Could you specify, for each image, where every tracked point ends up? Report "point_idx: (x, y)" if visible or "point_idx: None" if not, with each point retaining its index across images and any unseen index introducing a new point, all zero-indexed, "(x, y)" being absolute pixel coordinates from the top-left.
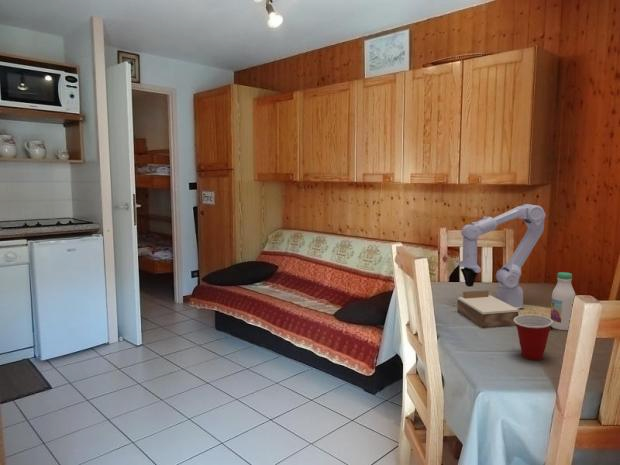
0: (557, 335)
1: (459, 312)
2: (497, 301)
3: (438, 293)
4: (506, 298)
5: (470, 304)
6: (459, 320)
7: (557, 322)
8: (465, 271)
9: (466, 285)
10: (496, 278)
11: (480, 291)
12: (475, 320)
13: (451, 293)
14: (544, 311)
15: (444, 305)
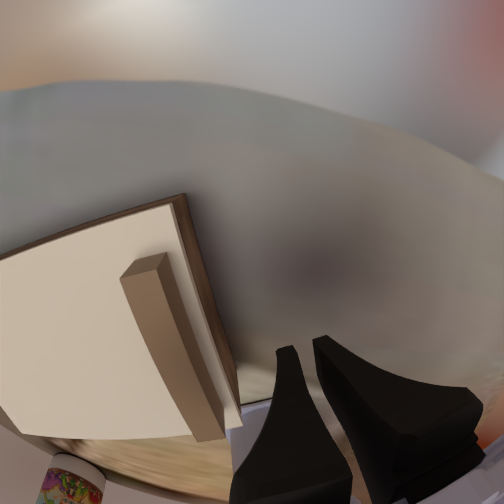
0: (17, 432)
1: (159, 200)
2: (107, 422)
3: (495, 182)
4: (235, 461)
5: (6, 263)
6: (43, 180)
7: (49, 467)
8: (277, 481)
9: (315, 339)
10: (353, 501)
11: (181, 403)
12: (6, 253)
13: (488, 242)
14: (219, 487)
15: (321, 141)
